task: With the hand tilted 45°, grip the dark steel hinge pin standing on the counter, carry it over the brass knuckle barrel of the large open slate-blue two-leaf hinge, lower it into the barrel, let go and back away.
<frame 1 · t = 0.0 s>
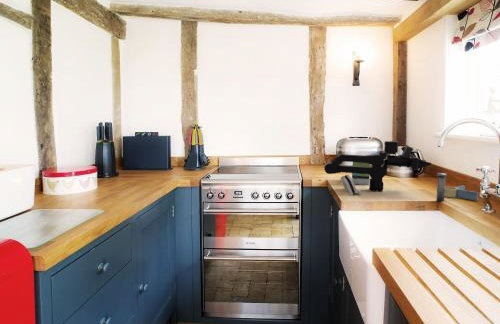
hand: (428, 162, 193), 16 cm above the table, tool horizontal, fingers open, 9 cm apart
hinge barrel: (450, 195, 186), on the table
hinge: (349, 192, 196), on the table, touching arm
tea box: (360, 182, 224), on the table
pin: (440, 200, 175), on the table
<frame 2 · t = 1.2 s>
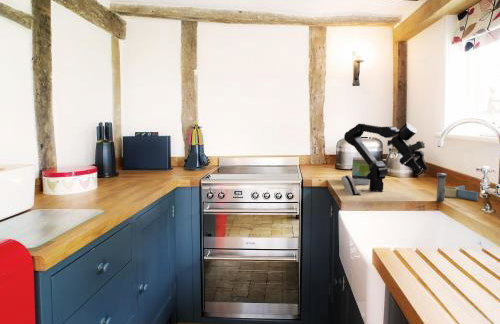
hand: (423, 170, 179), 14 cm above the table, tool tilted 45°, fingers open, 9 cm apart
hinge: (349, 192, 196), on the table
everything else where it was.
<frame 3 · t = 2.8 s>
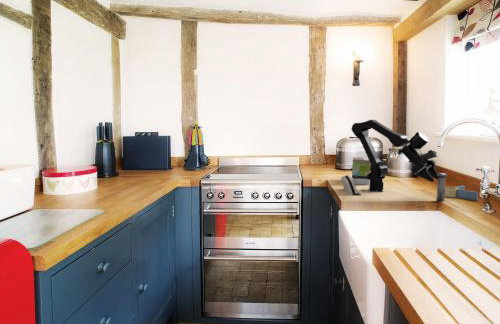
hand: (436, 180, 176), 10 cm above the table, tool tilted 45°, fingers open, 9 cm apart
nothing on the table moved.
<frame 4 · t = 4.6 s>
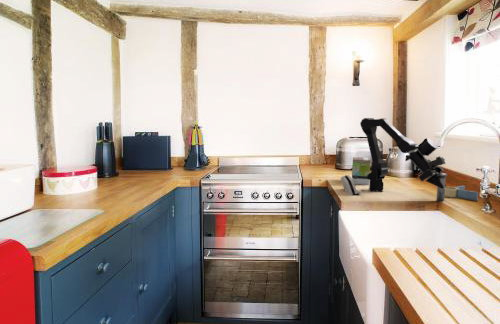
hand: (444, 187, 174), 7 cm above the table, tool tilted 45°, fingers closed on pin, 3 cm apart
pin: (440, 200, 175), on the table, touching gripper
everything else where it was.
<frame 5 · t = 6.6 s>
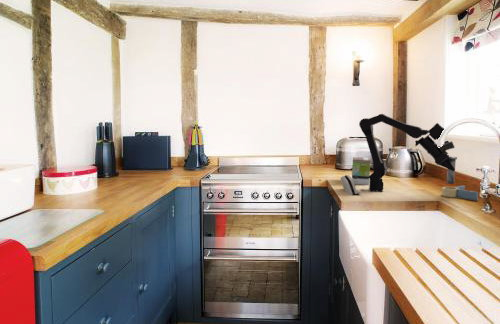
hand: (454, 170, 181), 14 cm above the table, tool tilted 45°, fingers closed on pin, 3 cm apart
pin: (450, 183, 182), point 7 cm above the table, touching gripper
everything else where it was.
when the fingers open (8 cm above the table, at t = 9.0 s): pin drops 1 cm, resting in hinge barrel.
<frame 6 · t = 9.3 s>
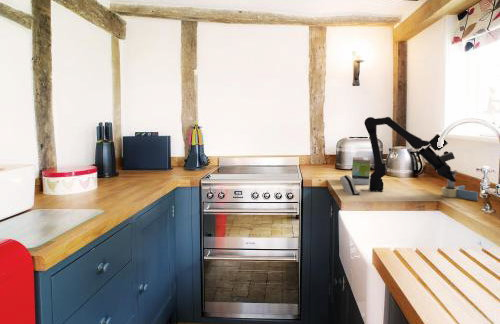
hand: (454, 180, 185), 8 cm above the table, tool tilted 45°, fingers open, 7 cm apart
pin: (449, 195, 186), resting in hinge barrel
everything else where it was.
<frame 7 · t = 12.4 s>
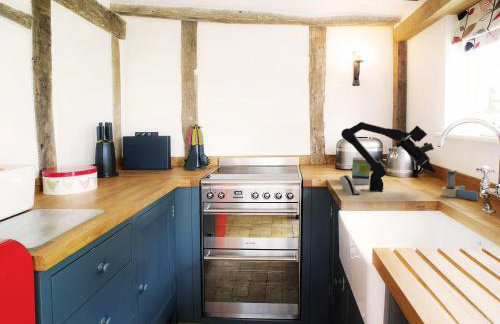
hand: (433, 170, 188), 12 cm above the table, tool tilted 45°, fingers open, 9 cm apart
nothing on the table moved.
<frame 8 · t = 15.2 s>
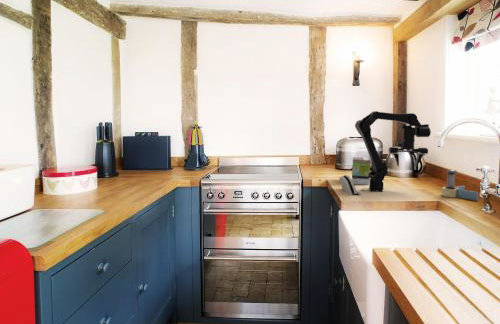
hand: (407, 166, 198), 13 cm above the table, tool pointing down, fingers open, 9 cm apart
nothing on the table moved.
at the end: pin 0.0 cm off-centre on the hinge barrel, point 0.0 cm above the hinge barrel's base; pin tilted 0°; the gripper is holding nothing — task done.
